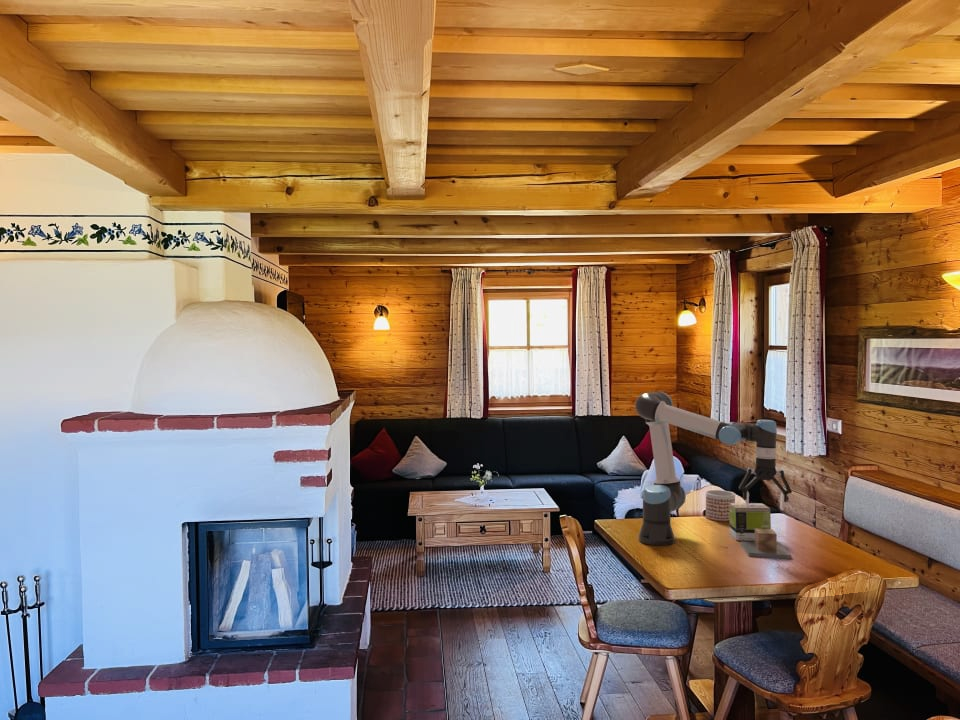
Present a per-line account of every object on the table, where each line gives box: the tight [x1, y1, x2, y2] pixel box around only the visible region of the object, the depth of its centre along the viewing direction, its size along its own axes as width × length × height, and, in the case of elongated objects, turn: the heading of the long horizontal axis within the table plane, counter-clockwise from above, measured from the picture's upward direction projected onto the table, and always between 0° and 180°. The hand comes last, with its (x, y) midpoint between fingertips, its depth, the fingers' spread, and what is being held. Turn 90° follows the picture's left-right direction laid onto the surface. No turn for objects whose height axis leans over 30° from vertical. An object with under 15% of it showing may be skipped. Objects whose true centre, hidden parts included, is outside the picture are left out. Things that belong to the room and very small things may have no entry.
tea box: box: [729, 502, 772, 542], centre depth 289 cm, size 15×10×15 cm
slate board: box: [740, 541, 792, 560], centre depth 269 cm, size 16×16×2 cm
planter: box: [705, 489, 736, 523], centre depth 324 cm, size 14×14×13 cm
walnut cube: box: [754, 528, 778, 551], centre depth 269 cm, size 7×7×7 cm
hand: (764, 508), depth 269 cm, fingers open, 13 cm apart
